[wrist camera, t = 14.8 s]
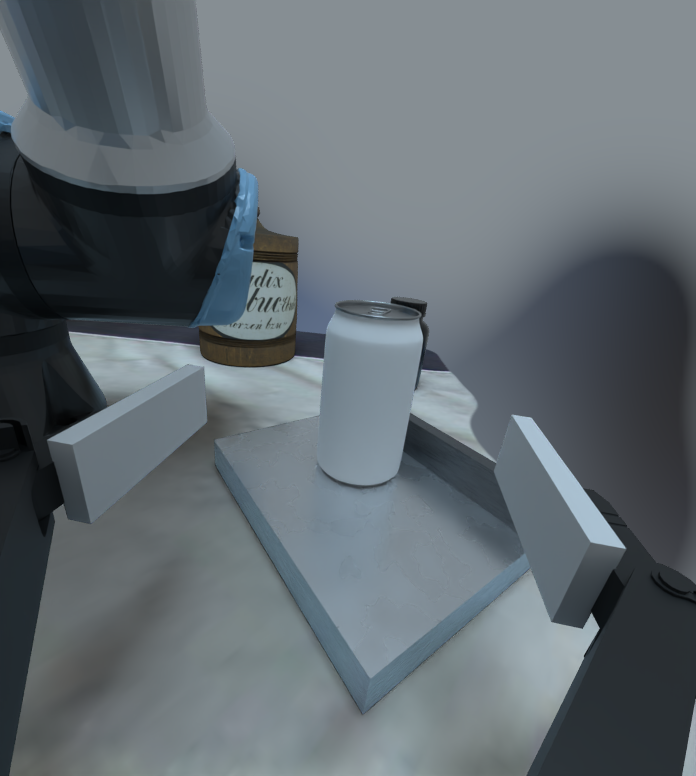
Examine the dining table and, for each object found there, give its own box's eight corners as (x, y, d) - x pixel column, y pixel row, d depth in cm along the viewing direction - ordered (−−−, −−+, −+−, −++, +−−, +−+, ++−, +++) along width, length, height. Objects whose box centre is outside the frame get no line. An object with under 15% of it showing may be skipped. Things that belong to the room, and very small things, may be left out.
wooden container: (201, 369, 49) (189, 189, 40) (199, 340, 61) (190, 197, 53) (305, 366, 54) (314, 206, 46) (284, 339, 67) (288, 210, 58)
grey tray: (215, 465, 29) (212, 406, 27) (352, 428, 38) (358, 380, 36) (362, 714, 15) (380, 628, 13) (534, 564, 23) (561, 497, 21)
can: (304, 478, 25) (314, 308, 20) (329, 434, 31) (341, 295, 26) (394, 499, 24) (427, 324, 19) (402, 450, 30) (429, 307, 25)
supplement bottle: (406, 397, 47) (423, 306, 42) (362, 382, 50) (373, 297, 45) (425, 383, 52) (441, 302, 48) (384, 371, 56) (396, 293, 51)
